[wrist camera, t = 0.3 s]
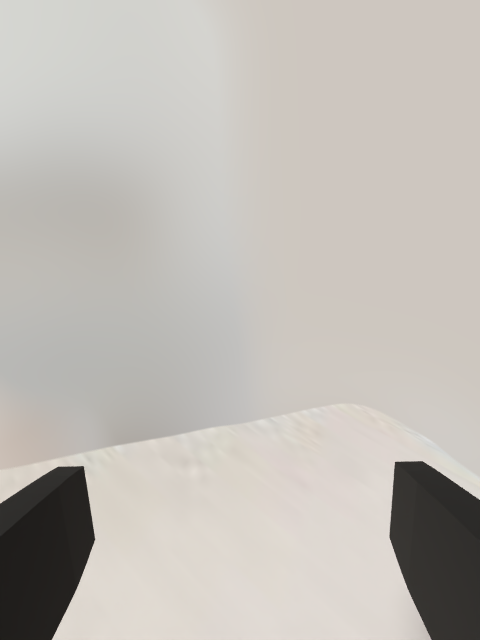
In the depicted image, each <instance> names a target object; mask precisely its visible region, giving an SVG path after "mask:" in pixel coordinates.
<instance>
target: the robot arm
mask: <svg viewBox="0 0 480 640" xmlns="http://www.w3.org/2000/svg"><path fill="white" fill-rule="evenodd" d="M390 540H391V543H392V546H393V549H394V552H395V555H396V558H397V560H398V563H399V566H400V569H401V572H402V574H403V577H404V580H405V583H406V585H407V588H408V590H409V592H410V595H411V597H412V599H413V601H414V603H415V605H416V608H417V610H418V612H419V614H420V616H421V618H422V620H423V622H424V625H425V627H426V629H427V631H428V633H429V635H430V637H431V639H432V640H480V500H479V499H477V498H476V497H475V496H473V495H472V494H470V493H469V492H467V491H466V490H465V489H463V488H462V487H460V486H459V485H457V484H456V483H454V482H453V481H451V480H450V479H449V478H447V477H446V476H444V475H443V474H441V473H440V472H438V471H437V470H435V469H434V468H432V467H431V466H429V465H427V464H426V463H424V462H423V461H417V462H395V469H394V483H393V497H392V510H391V524H390ZM94 541H95V536H94V529H93V523H92V516H91V510H90V504H89V497H88V491H87V484H86V478H85V471H84V466H77V467H57V468H55V469H54V470H52V471H50V472H48V473H47V474H45V475H43V476H42V477H40V478H39V479H37V480H36V481H34V482H32V483H31V484H29V485H28V486H26V487H25V488H23V489H22V490H20V491H19V492H17V493H16V494H14V495H13V496H11V497H10V498H8V499H7V500H5V501H4V502H2V503H1V504H0V640H52V638H53V636H54V634H55V632H56V630H57V628H58V626H59V624H60V622H61V620H62V618H63V616H64V614H65V612H66V610H67V608H68V606H69V604H70V602H71V600H72V598H73V595H74V593H75V591H76V589H77V587H78V584H79V582H80V579H81V576H82V574H83V571H84V569H85V566H86V563H87V561H88V558H89V555H90V552H91V549H92V547H93V544H94Z"/></svg>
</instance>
